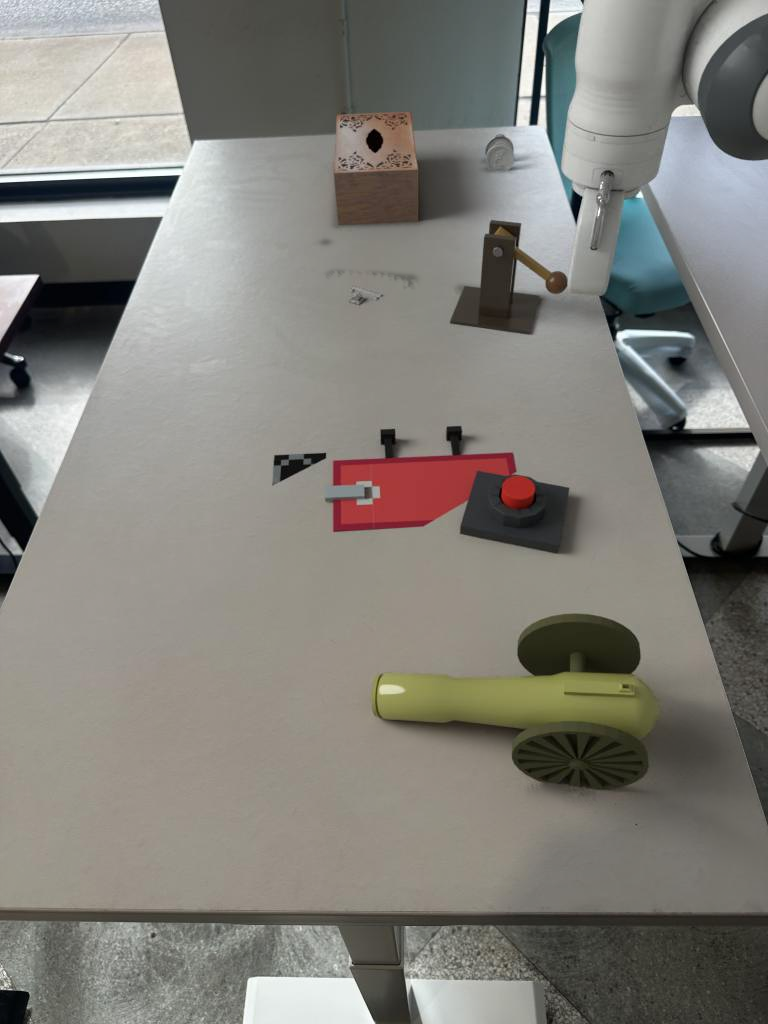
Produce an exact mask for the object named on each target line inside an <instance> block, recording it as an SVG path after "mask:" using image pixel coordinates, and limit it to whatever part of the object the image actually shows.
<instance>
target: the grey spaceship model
mask: <svg viewBox="0 0 768 1024" xmlns="http://www.w3.org/2000/svg"><path fill="white" fill-rule="evenodd" d="M347 291H348V292H349V293H353V292H354V291H358V292H356V293H354V294H353V295H352V296H351V299H350V300H348V302H349V303H352V304H355V305H358V306H359V305H361V304H362V303H363V302H364V301H365V300H366V298H365V297H363V294H361V293H360V292H362V293H364V294H367V295H370V296H373V298H372V300H374V301H378V300H379V299H380V298H381V297H382V296H383V294H381V293H378V292H375V291H372V290H369V289H366V288H362V287H360V286H356V285H352V287H351V288H349V290H347Z"/></svg>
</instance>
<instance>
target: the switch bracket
mask: <svg viewBox="0 0 768 1024" xmlns="http://www.w3.org/2000/svg"><path fill="white" fill-rule="evenodd" d="M500 226H501V227H502V228H503V229H505V230H506V231H507V232H509V233H510V234H511V235H513V236H514V237H511V236H503V235H494V234H495V232H496V231H497V230H498V229H499V227H500ZM521 229H522V223H521V222H513V221H506V220H495V219H490V221H489V224H488V233H484V236H483V243H482V244H483V246H482V260H481V273H480V286H479V287H476V286H469V285H464V286H463V288H462V291H461V294H460V296H459V298H458V300H457V303H456V306H455V307H454V311H453V312H452V315H451V317H450V320H449V324H451V325H457V326H465V327H472V328H479V329H486V330H493V331H499V332H507V333H515V334H522V335H527V336H530V333H531V329H532V326H533V323H534V319H535V316H536V312H537V308H538V305H539V301H540V298H541V297H540V295H539V294H538V295H537V294H531V293H523V292H515V285H516V275H517V267H518V260H517V259H516V258H514V256H515V247H518V248H519V249H520V242H521V241H520V240H521V238H520V237H521V231H522V230H521Z"/></svg>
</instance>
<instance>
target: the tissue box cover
mask: <svg viewBox="0 0 768 1024" xmlns="http://www.w3.org/2000/svg"><path fill="white" fill-rule="evenodd" d="M335 119H336V120H335V142H334V143H335V144H334V160H333V161H334V162H333V163H334V164H333V179H334V180H333V181H334V191H335V203H336V214H337V215H336V216H337V225H338V226H351V225H352V226H353V225H354V226H355V225H374V224H398V223H417V222H419V164H418V157H417V150H416V142H415V135H414V134H415V133H414V127H413V120H412V119H413V118H412V112H411V111H392V112H387V111H386V112H369V113H368V112H367V113H350V114H349V113H346V114H336V118H335Z"/></svg>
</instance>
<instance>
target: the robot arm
mask: <svg viewBox="0 0 768 1024" xmlns="http://www.w3.org/2000/svg"><path fill="white" fill-rule="evenodd" d="M576 39H577V40H576V46H575V54H574V68H575V69H574V70H575V76H576V77H575V79H576V80H575V87H574V88H575V89H574V92H573V95H572V99H571V100H570V103H569V106H568V110H567V115H566V125H565V132H564V140H563V144H562V145H563V147H562V154H561V163H560V170H561V172H562V173H563V175H564V177H566V178H567V179H568V180H569V181H571V187H572V189H573V191H574V192H575V193H576V194H577V195H579V196H580V197H582V199H581V203H580V206H579V207H580V208H579V212H578V216H577V221H576V226H575V233H574V237H573V244H572V250H571V256H570V263H569V269H568V275H567V279H568V281H567V292H569V293H571V294H575V295H576V294H577V295H585V296H592V297H593V296H595V297H601V296H604V295H605V294H606V293H607V290H608V287H609V282H610V278H611V273H612V270H613V269H612V268H613V263H614V258H615V253H616V248H617V243H618V238H619V232H620V228H621V223H622V216H623V209H624V203H625V201H627V200H629V199H630V200H631V198H634V197H636V195H638V194H639V193H640V191H641V188H642V187H643V186H645V185H647V184H649V183H651V182H652V181H653V180H655V179H656V177H657V175H658V174H659V172H660V167H661V163H662V158H663V154H664V150H665V146H666V140H667V136H668V133H669V128H670V124H671V119H672V115H673V113H674V112H675V111H676V110H677V109H678V108H679V107H681V106H695V107H696V109H697V110H698V111H699V113H700V116H701V119H702V122H703V124H704V126H705V129H706V130H707V133H708V135H709V137H710V139H711V140H712V143H713V144H714V145H715V146H716V147H717V148H718V149H719V150H720V151H722V152H723V153H724V154H726V155H728V156H729V157H732V158H735V159H738V160H742V161H752V162H754V161H755V162H756V161H757V162H758V161H766V160H768V0H583V4H582V9H581V15H580V21H579V26H578V35H577V38H576Z"/></svg>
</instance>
